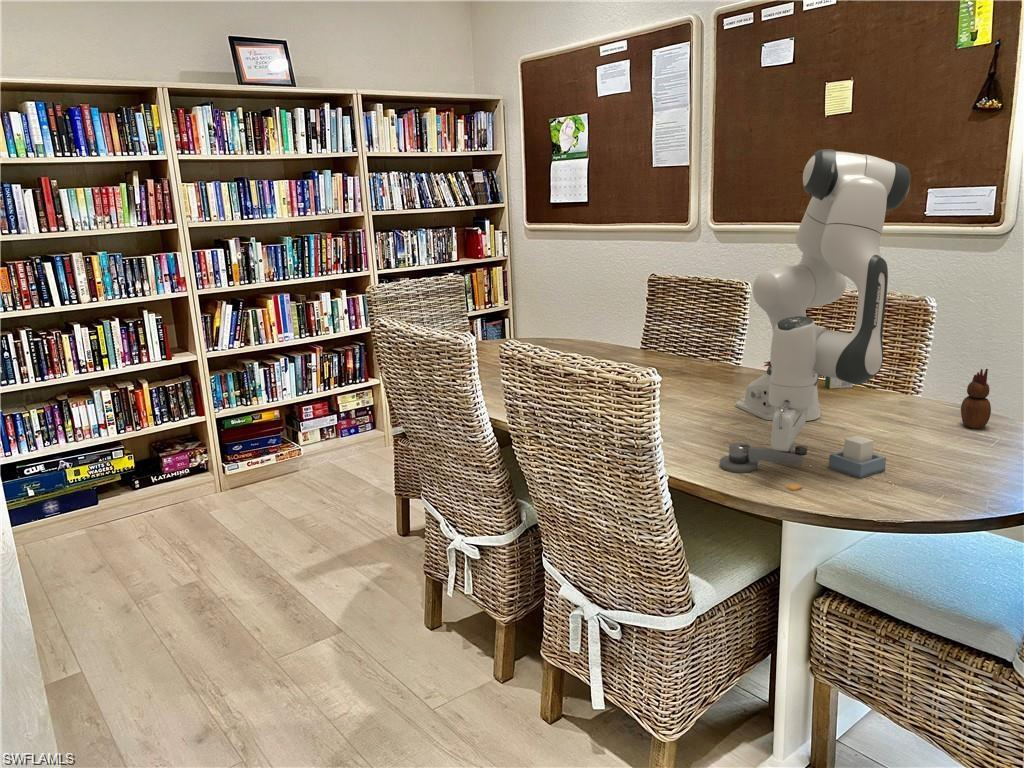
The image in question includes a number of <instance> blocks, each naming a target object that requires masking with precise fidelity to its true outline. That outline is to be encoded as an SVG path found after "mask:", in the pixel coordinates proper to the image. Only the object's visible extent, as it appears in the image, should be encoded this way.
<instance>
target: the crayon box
mask: <svg viewBox="0 0 1024 768" xmlns="http://www.w3.org/2000/svg"><path fill="white" fill-rule="evenodd" d="M824 377H825V380H824V381H825V382H824V387H825V388H827V389H829V390H832V389H833V390H834V389H842V388H843V389H844V388H853V385H854V384H852V383H849V382H846V381H842V380H840V379H837V378H832V377H828V376H824Z"/></svg>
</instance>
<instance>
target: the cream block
mask: <svg viewBox="0 0 1024 768" xmlns="http://www.w3.org/2000/svg"><path fill="white" fill-rule="evenodd" d="M843 440H844V442H843V450H844V452H843V457H844V458H847V459H850V460H853V461H856V462H859V463H862V462H866V461H869V460H872V454H873V452H874V441H875V440H874V439H870V438H866V437H864V436H861V435H855V436H851V437H850V436H849V437H847V438H844V439H843Z"/></svg>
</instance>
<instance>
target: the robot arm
mask: <svg viewBox="0 0 1024 768" xmlns="http://www.w3.org/2000/svg"><path fill="white" fill-rule="evenodd" d="M911 179H912V175H911V173H910V169H909V167H907V166H906V165H904V164H901V163H899V162H896V161H892V162H891V161H889V160H886V159H883V158H880V157H877V156H874V155H869V154H865V153H864V154H860V153H856V152H855V153H854V152H847V151H837V150H835V149H831V148H829V149H828V148H827V149H826V148H825V149H823V148H822V149H819V150H817V151H815V152H814V153H813V154H812V155H811V156H810V158H809V160H808V161H807V163H806V164H805V167H804V169H803V173H802V187H803V190H804V191H805V193H806V194H808V195H809V196H811V198H810V200H809V203H808V205H807V208H806V210H805V212H804V215H803V218H802V219H801V222H800V224H799V227H798V230H797V231H796V234H795V238H794V239H795V243H796V246H797V248H798V249H799V251H801V253H802V255H801V260H800V262H799V263H798V264H796V265H787V266H776V267H773V268H771V269H768V270H764V271H763V272H760V273H759V274H758V275H757V276H756V278H755V280H754V282H753V285H752V295H753V298H754V301H755V303H756V304H757V305H758V306H759V308H761V309H762V310H763V311H764V312H765V314H766V315H767V316H768V319H769V321H770V324H771V325H770V326H771V329H772V338H771V344H770V345H771V346H770V357H769V358H770V360H769V361H765V362H763V364H764V365H763V367H767V368H766V371H765V372H766V373H763V375H761V376H759V377H758V378H756V379H755V380H753V381H752V382H749V384H748V385H747V387H746V389H745V394H744V398H741V399H740V400H738V401H736V402H735V407H736V408H739V409H741V410H743V411H746V412H748V413H750V414H751V415H755V416H757V417H759V418H761V419H763V420H766V421H772V424H771V426H772V427H771V435H770V437H771V438H770V447H771V448H770V449H773V450H779V451H794V448H795V443H796V439H797V438H798V436H799V434H800V433H801V431H802V429H803V427H804V426H805V424H806V422H807V421H808V422H810V421H813V420H818V419H820V418H821V417H822V412H821V409H820V408H821V407H820V403H819V394H818V393H819V392H818V382H819V381H818V380H819V376H822V377H823V376H824V377H826V376H828V377H832V378H837V379H840V380H842V381H846V382H849V383H852V384H853V385H855V386H856V385H857V386H858V385H862V384H865V383H866V382H868V381H870V380H872V379H873V378H874V377H876V376H877V375H878V374H879V373H880V371H881V369H882V366H883V361H884V346H883V345H884V344H883V337H884V336H883V334H884V324H885V322H884V321H885V314H886V313H885V312H886V307H887V306H886V304H887V297H888V296H887V293H888V284H889V282H888V281H889V271H888V270H889V269H888V264H887V261H886V260H885V259H884V258H883V257H882V256H881V252H880V241H881V235H882V233H883V229H884V224H885V221H886V220H885V218H886V214H887V213H886V212H888V211H893V210H895V209H896V208H899V207H900V206H901V205H902V203H903V202H904V201H905V199H906V197H907V195H908V193H909V191H910V186H911ZM847 278H848V279H849V280H851V281H852V282H853V283H854V285H855V287H856V289H857V293H858V295H857V302H856V303H857V306H856V313H855V324H854V329H853V330H852V332H851V333H849V332H844V331H837V330H833V329H829V328H824V327H822V326H819V325H817V324H815V321H814V319H813V318H811V317H808V316H807V313H806V312H807V311H806V310H807V309H809V308H815V307H818V308H819V307H823V306H826V305H828V304H829V305H830V304H831V303H834V302H836V301H838V300H839V299H841V298H842V297H843V295H844V293H845V291H846V287H847V280H846V279H847Z"/></svg>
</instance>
